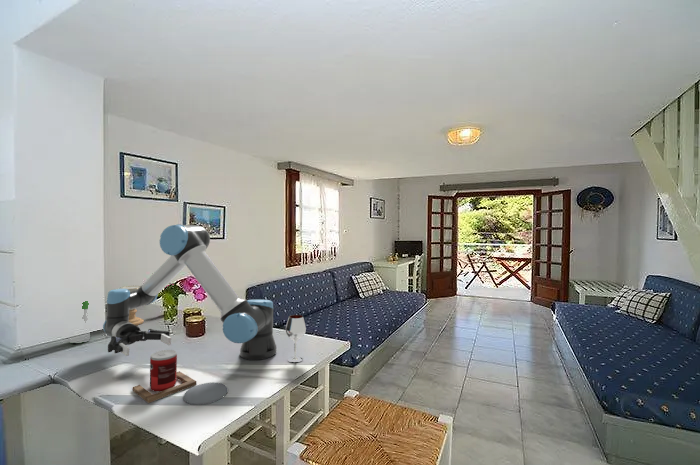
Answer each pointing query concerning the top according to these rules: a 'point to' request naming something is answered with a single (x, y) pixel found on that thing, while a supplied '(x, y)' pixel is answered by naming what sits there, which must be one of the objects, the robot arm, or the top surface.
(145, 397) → the walnut cradle
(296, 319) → the wineglass
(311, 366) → the top surface
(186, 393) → the slate mat
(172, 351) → the canned food
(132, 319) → the candle holder
